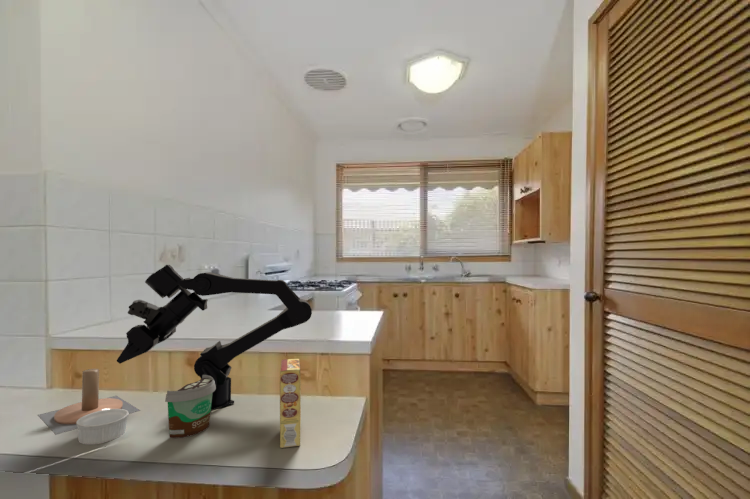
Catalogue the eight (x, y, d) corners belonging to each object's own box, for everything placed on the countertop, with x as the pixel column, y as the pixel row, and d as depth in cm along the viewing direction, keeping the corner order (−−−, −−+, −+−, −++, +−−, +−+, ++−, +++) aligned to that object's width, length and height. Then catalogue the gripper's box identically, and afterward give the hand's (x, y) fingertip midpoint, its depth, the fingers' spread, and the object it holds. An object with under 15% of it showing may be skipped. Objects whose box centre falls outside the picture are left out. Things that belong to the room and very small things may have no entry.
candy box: (300, 446, 74) (301, 369, 75) (278, 449, 73) (279, 370, 74) (299, 427, 83) (300, 357, 83) (280, 429, 82) (280, 359, 82)
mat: (116, 397, 101) (116, 395, 101) (140, 411, 91) (140, 410, 91) (37, 416, 88) (37, 414, 88) (55, 436, 78) (55, 434, 78)
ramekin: (118, 424, 84) (118, 405, 84) (135, 435, 79) (136, 414, 79) (69, 439, 77) (69, 418, 77) (84, 452, 72) (85, 429, 72)
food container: (190, 444, 75) (191, 394, 75) (164, 441, 76) (165, 391, 77) (226, 418, 87) (227, 375, 88) (203, 416, 88) (204, 374, 89)
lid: (111, 398, 99) (112, 360, 99) (131, 410, 91) (132, 369, 91) (47, 414, 88) (48, 371, 89) (62, 429, 80) (64, 383, 81)
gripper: (164, 286, 102) (117, 328, 99) (137, 291, 84) (79, 343, 81) (194, 314, 104) (149, 356, 101) (175, 325, 86) (119, 377, 83)
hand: (126, 357), depth 92 cm, fingers open, 9 cm apart
